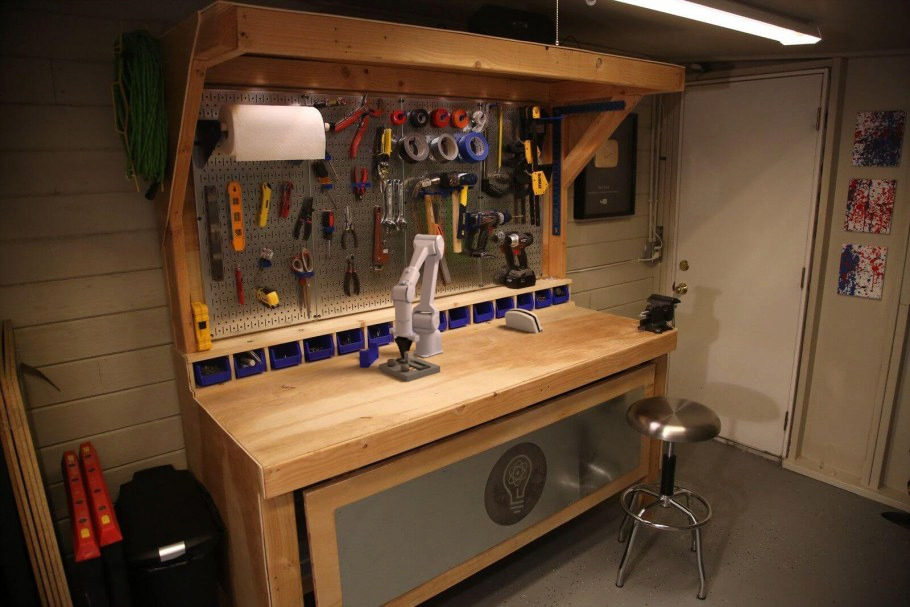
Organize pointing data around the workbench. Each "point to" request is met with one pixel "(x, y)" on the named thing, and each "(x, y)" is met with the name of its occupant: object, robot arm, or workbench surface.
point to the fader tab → (409, 356)
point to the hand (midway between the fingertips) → (404, 357)
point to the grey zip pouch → (522, 320)
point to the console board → (409, 368)
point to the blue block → (369, 355)
